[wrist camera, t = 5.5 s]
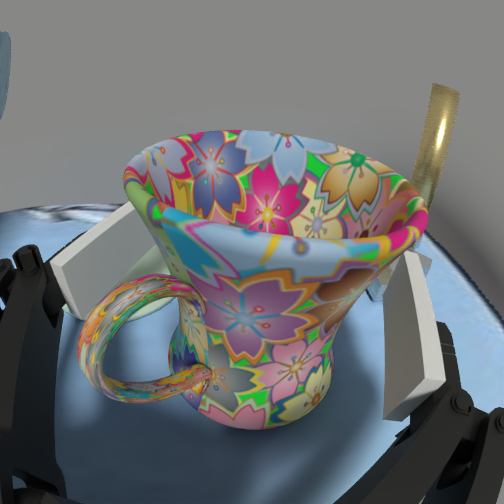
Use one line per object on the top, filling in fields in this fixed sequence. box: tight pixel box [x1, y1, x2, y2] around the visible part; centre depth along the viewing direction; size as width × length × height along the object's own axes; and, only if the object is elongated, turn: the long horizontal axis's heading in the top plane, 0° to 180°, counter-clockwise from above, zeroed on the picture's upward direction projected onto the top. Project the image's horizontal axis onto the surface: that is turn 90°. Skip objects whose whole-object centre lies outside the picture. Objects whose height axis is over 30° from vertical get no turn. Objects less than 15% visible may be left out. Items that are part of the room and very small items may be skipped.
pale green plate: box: [62, 244, 175, 322], centre depth 20 cm, size 11×11×1 cm
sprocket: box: [367, 83, 460, 301], centre depth 21 cm, size 15×15×16 cm
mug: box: [77, 130, 428, 430], centre depth 11 cm, size 12×9×11 cm
